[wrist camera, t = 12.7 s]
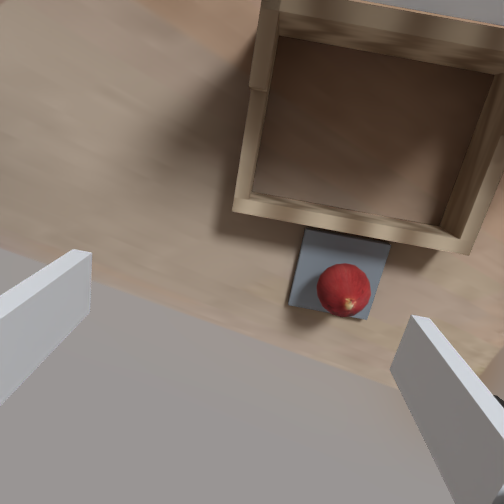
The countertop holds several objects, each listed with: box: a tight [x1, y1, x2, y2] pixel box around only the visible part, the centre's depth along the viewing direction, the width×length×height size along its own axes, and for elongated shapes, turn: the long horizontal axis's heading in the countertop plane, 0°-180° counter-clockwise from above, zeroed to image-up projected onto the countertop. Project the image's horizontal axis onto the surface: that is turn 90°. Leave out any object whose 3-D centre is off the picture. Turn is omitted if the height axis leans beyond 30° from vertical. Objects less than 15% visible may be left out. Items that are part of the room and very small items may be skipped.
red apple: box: [316, 263, 371, 317], centre depth 39 cm, size 6×6×8 cm
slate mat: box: [288, 227, 391, 320], centre depth 43 cm, size 10×10×1 cm
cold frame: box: [232, 0, 504, 256], centre depth 35 cm, size 25×19×8 cm
